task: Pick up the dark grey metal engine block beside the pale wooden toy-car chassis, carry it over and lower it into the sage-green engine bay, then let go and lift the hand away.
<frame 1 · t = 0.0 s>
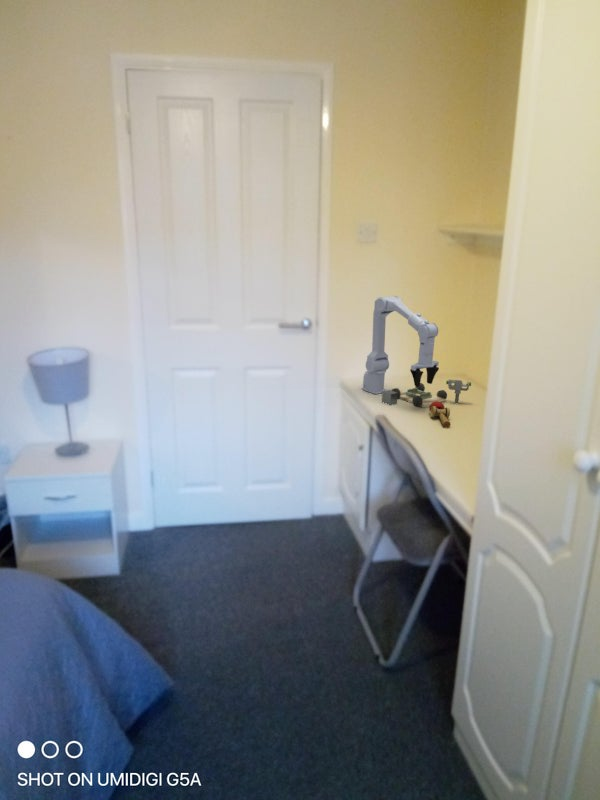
hand: (423, 384, 248), 10 cm above the table, tool pointing down, fingers open, 7 cm apart
chassis: (418, 399, 263), on the table
kendama: (440, 421, 237), on the table
engine block: (389, 403, 257), on the table
mechanical component: (456, 403, 259), on the table
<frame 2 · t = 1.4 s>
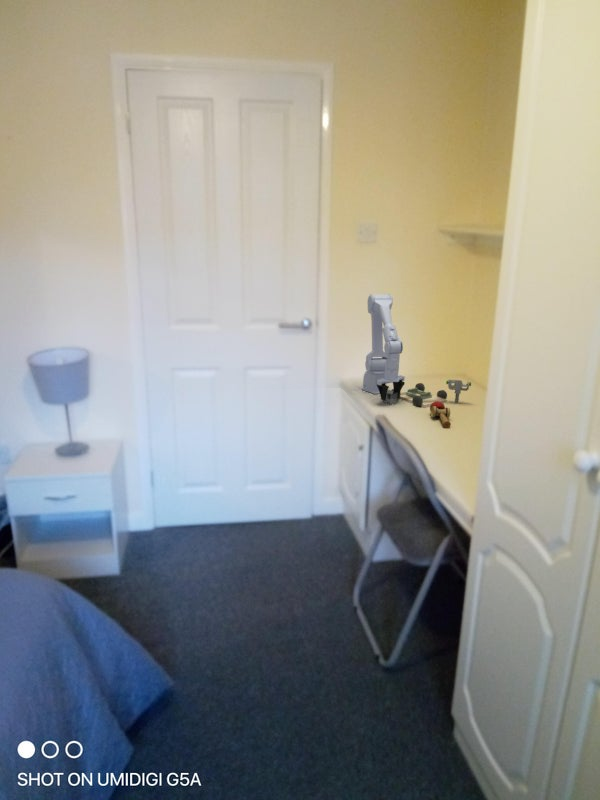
hand: (389, 398, 256), 2 cm above the table, tool pointing down, fingers open, 7 cm apart
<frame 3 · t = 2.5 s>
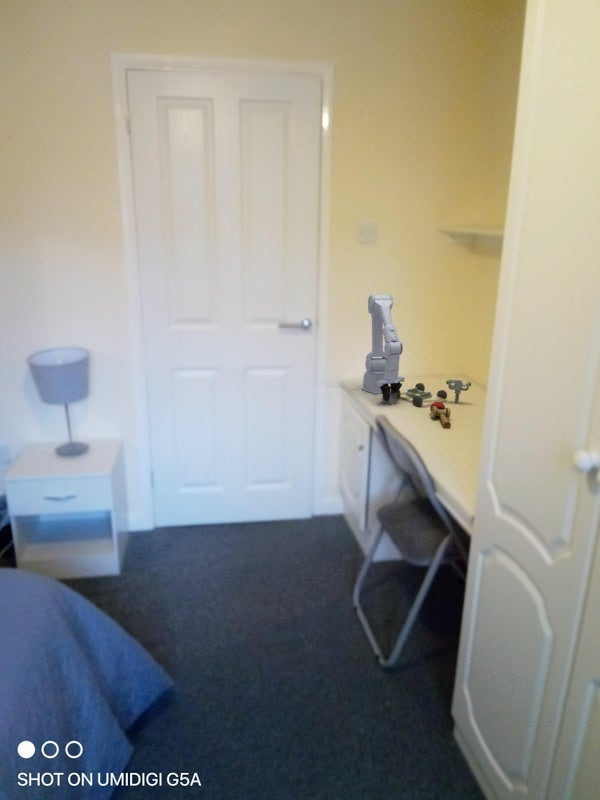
hand: (389, 399, 256), 1 cm above the table, tool pointing down, fingers closed on engine block, 4 cm apart
engine block: (389, 402, 256), on the table, touching gripper
everything else where it was.
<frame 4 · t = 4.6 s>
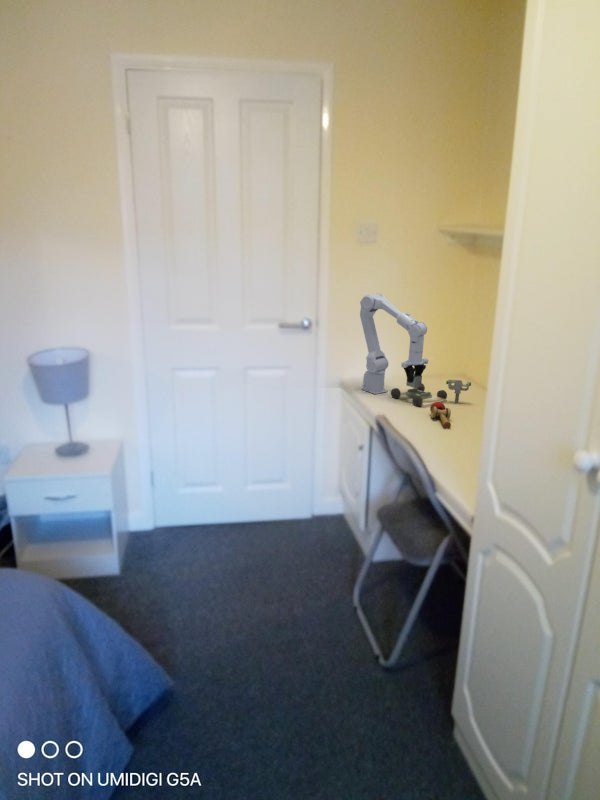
hand: (413, 381, 259), 8 cm above the table, tool pointing down, fingers closed on engine block, 4 cm apart
engine block: (413, 386, 259), point 7 cm above the table, touching gripper
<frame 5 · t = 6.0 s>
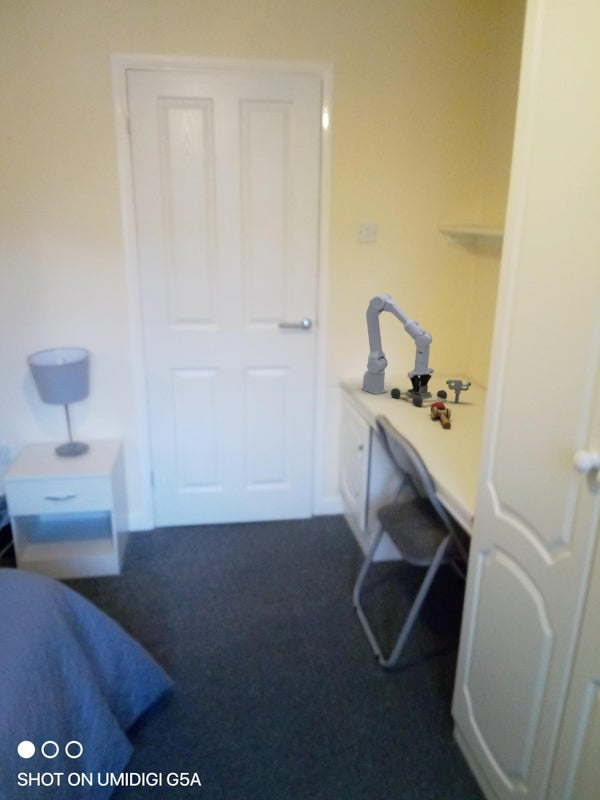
hand: (419, 390, 262), 4 cm above the table, tool pointing down, fingers closed on engine block, 4 cm apart
engine block: (419, 395, 262), point 2 cm above the table, touching gripper
when the fingers open (4 cm above the table, at t = 6.8 s): engine block stays where it is, resting on chassis.
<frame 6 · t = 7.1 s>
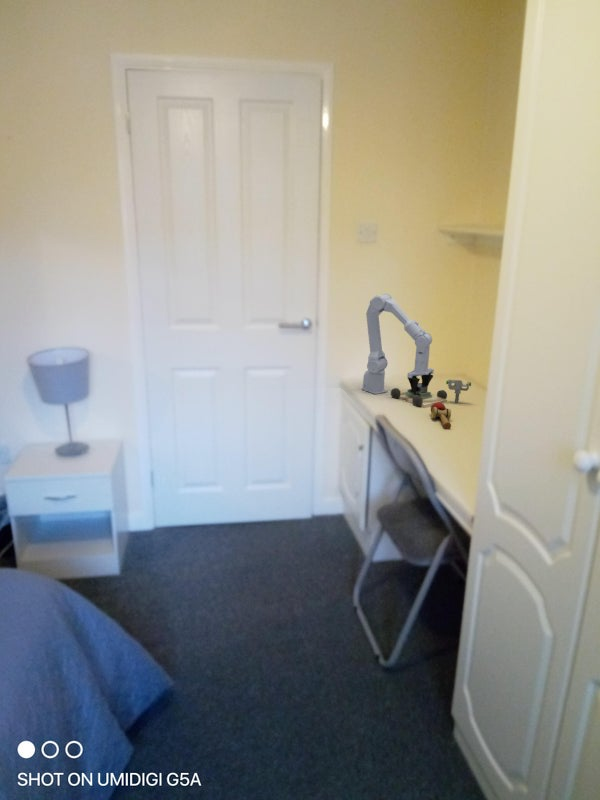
hand: (419, 391, 262), 4 cm above the table, tool pointing down, fingers open, 6 cm apart
engine block: (419, 396, 262), point 1 cm above the table, touching chassis
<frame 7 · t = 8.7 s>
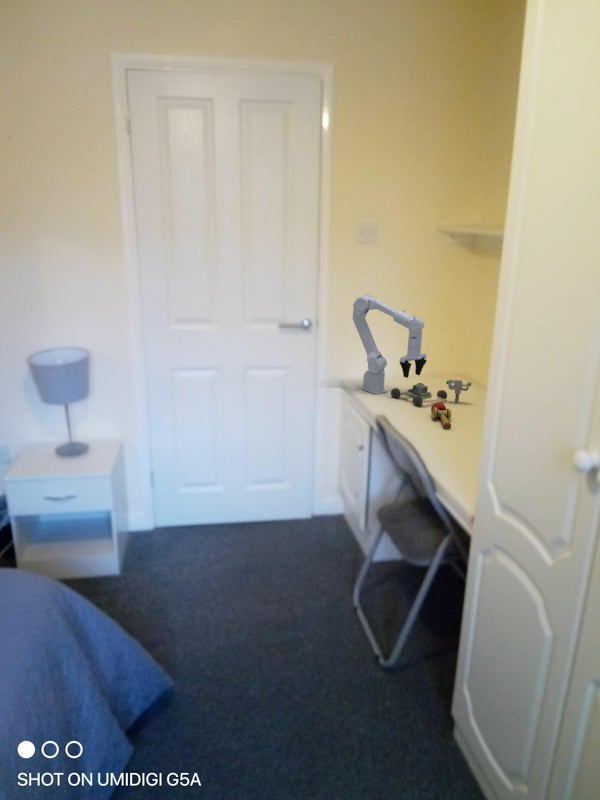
hand: (411, 376, 264), 9 cm above the table, tool pointing down, fingers open, 7 cm apart
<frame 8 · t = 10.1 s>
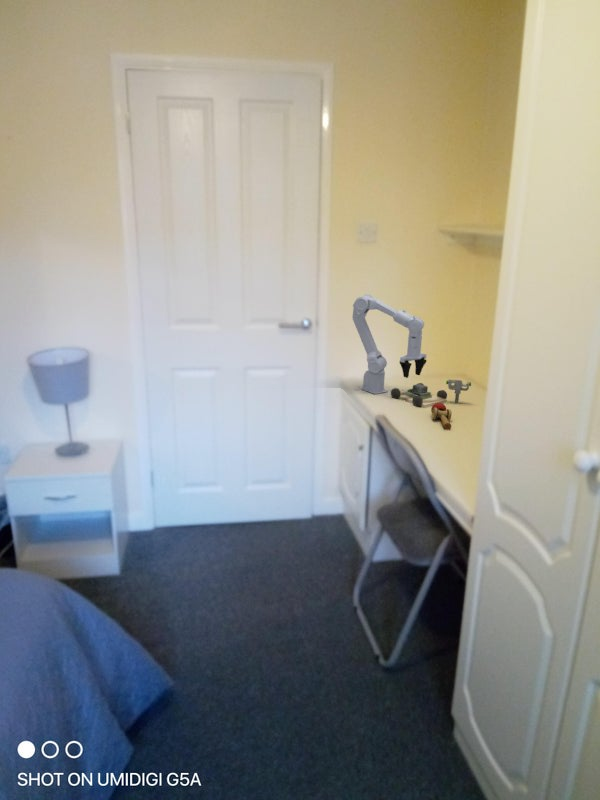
hand: (411, 375, 264), 9 cm above the table, tool pointing down, fingers open, 7 cm apart
at the end: engine block 0.4 cm off-centre on the chassis, point 1.2 cm above the chassis's base; engine block tilted 0°; the gripper is holding nothing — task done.
